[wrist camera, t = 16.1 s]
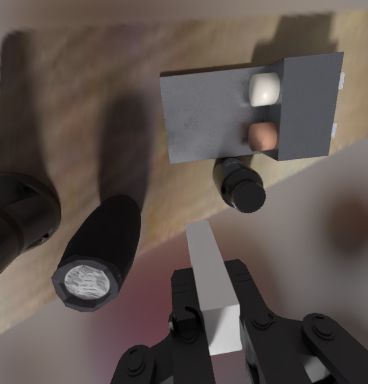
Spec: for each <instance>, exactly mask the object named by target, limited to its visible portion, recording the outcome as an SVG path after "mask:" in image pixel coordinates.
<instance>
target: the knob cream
mask: <svg viewBox="0 0 368 384" xmlns="http://www.w3.org/2000/svg"><path fill="white" fill-rule="evenodd" d="M344 75H345V73H341V75H340V81H339V88H338V90H339V89H342V88H343V82H344ZM279 92H280V79H279V76H278V74H277V73H276V72H272V73H263V74H254V75H253V76H252V77H251V80H250V84H249V100H250V104H251V105H252V106H262V105H272V104H274V103H275V102H276V101H277V99H278V96H279Z"/></svg>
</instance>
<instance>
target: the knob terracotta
mask: <svg viewBox="0 0 368 384" xmlns="http://www.w3.org/2000/svg"><path fill="white" fill-rule="evenodd" d="M336 126H337V123H334V122H333V128H332V134H331V137H335V132H336ZM248 141H249V146H250V149H251V150H252V151H253V152H254V151H263V150H272V149H273V148H274V147H275V145H276V142H277V130H276V126H275V124H274V123H273V122H265V123H256V124H251V125H250V128H249V132H248Z"/></svg>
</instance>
